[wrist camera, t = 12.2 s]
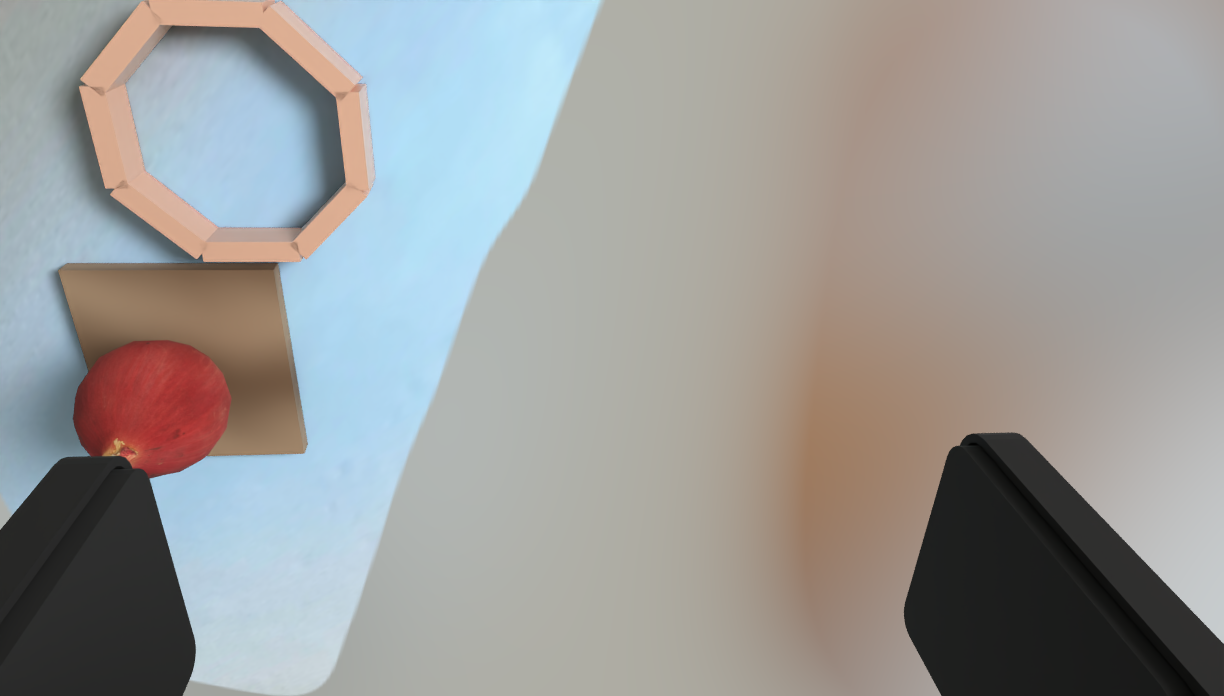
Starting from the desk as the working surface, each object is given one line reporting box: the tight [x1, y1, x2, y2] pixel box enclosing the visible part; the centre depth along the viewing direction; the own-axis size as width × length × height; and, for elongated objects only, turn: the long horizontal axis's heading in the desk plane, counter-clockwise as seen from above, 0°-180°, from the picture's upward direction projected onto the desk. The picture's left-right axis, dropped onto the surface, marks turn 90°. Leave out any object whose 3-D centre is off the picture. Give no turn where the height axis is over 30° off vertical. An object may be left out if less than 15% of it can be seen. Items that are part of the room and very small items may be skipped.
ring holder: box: [79, 0, 375, 262], centre depth 33 cm, size 10×10×2 cm
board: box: [58, 263, 308, 456], centre depth 39 cm, size 10×9×1 cm
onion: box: [73, 340, 232, 479], centre depth 35 cm, size 6×6×8 cm
